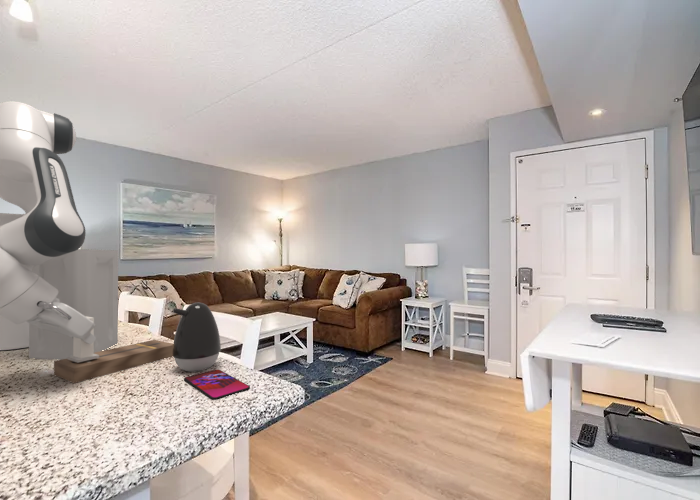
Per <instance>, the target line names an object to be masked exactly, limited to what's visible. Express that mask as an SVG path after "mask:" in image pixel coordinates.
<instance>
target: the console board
mask: <svg viewBox="0 0 700 500" xmlns="http://www.w3.org/2000/svg"><path fill="white" fill-rule="evenodd" d="M173 344H174V343H171V342H167V341H162V340H158V339H152V340H148V341H143V342H137V343H133V344H129V345H123V346H118V347H115V348H114V347H113V348H110V349H107V350H104V351H99V352H95V353H94V354H97V355H99V358H96V359H92V360H87V361H83V362H79V363H77V362H74V361H71V360H68V359H62V360H54V361H53V376H55V377H58V378H61V379H63V380H66V381H68V382H71V383H73V384H76V383H80V382H85V381H88V380H92V379H95V378H99V377H103V376H107V375H109V374H114V373H117V372H118V373H119V372H121V371H126V370H129V369H133V368H137V367H139V366H143V364H144V365H147V364H146V363H148V364H151V363H155V362H158V361H157V360H159V361H161V360H160V359H163V360H165V359H164V358H166V359H169V358H168V357H170V358H173V357H172V356H173ZM154 361H155V362H154ZM150 362H151V363H150Z"/></svg>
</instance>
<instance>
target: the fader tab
mask: <svg viewBox="0 0 700 500" xmlns="http://www.w3.org/2000/svg"><path fill="white" fill-rule="evenodd" d="M85 317H87V318H88V319H90V320H91V321H92V322H93V323H94V318H93V317H88V316H85ZM90 333H91V334H92V335H94V328H93V329H92V330H91V331H90ZM96 358H99V355H97V354H94V342H93V343H92V344H87V343H85V342H84V341H82V340H81V339H79V338H75V337H73V355H72V356H67V359H68V360H71V361H74V362H77V363H79V362H83V361H87V360H92V359H96Z"/></svg>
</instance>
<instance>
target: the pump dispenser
mask: <svg viewBox="0 0 700 500" xmlns="http://www.w3.org/2000/svg"><path fill="white" fill-rule="evenodd" d="M172 313H174V314H176V315H178V316H181V317H180V320H179V322H178V325H177V327H176V329H175V334H174V338H173V343H172V344H173V357H172V358H174V362H175V364H176V365H177V368H179V369H181V370H183V371H185V372H189V373H191V372H193V373H196V372H200V371H205V370H207V369H209V368H211V367H212V366H213V365H214V364H215V363H216V362H217V360H218V358H219V354H220V352H221V350H222V346H221V345H222V343H221V337H220V332H219V328H218V324H217V321H216V319H215V317H214V314H213V312H212V310H211V308H209V306H208V304H205V303H203V302H194V303H191V304H189V305H188V306H187V307H186V308H185V309H181V308H175V307H174V308H173V309H172Z"/></svg>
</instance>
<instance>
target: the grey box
mask: <svg viewBox="0 0 700 500" xmlns="http://www.w3.org/2000/svg"><path fill="white" fill-rule="evenodd" d="M32 272H34V273H36V274H37V275H39V276H40V277H41V278H43V279H44V280H45V281H47V282H48V283H50V284H51V285H52V286H54V287H55V288H56V289H58V295H57V296H56V297H57V298H58V299H59V300H60V302H59V303H64V304H66V305H68V306H70V307H72V308H73V309H75V310H76V311H78V312H79V313H81V314H82V315H84V316H88V317H93V318H94V324H95V327H94V336H95V337H96V340H95V341H94V353H95V352H99V351H102V350H105V349H107V348H109V347H111V346H113V345H115V344H117V343H118V341H119V340H118V339H119V338H118V335H119V333H118V331H119V330H118V329H119V327H118V325H119V249H115V250H114V249H96V248H94V249H93V248H91V249H89V248H87V249H86V248H82V249H81V248H79V249H78V250H76V251H73V252H70V253H67V254H64V255H61V256H57V257H55V258H53V259H51V260H48V261H46V262H44V263H42V264H39V265H36V266H34V267H33V268H32ZM118 344H119V343H118ZM107 350H108V349H107ZM72 355H73V338H71V337H69V336H67V335H64V334H60V333H56V332H52V331H48V330H44V329H41V328H39V327H36V326H34V325H32V324H29V347H28V358H29V359H30V358H35V360H52V359H58V360H62V359H67V356H72Z"/></svg>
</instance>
